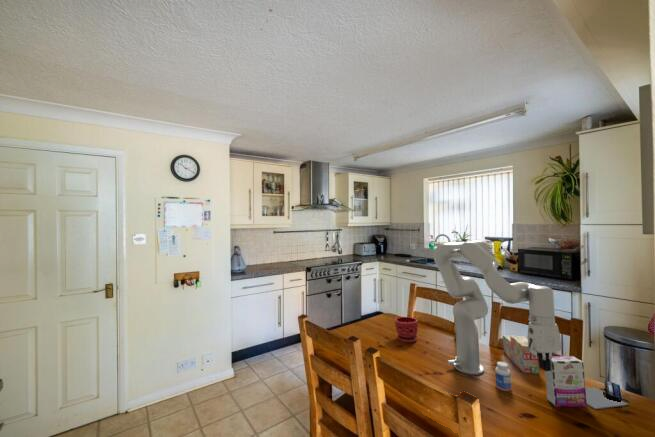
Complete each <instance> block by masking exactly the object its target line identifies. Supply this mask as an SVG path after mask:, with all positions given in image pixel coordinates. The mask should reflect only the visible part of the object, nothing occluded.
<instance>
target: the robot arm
mask: <svg viewBox="0 0 655 437" xmlns="http://www.w3.org/2000/svg"><path fill="white" fill-rule="evenodd" d="M461 259H466V260H467V261H468V262H469V263H471V265H472V266H474V268H476V269H477V270H478V271H479V272H480V273H481V274H482V275H483V279H484V281H485V283H486V285H487V287H488V288H489V289H490V290H491V292H493V293H494V295H495V296H497V297H498V298H499V299H501V300H502V301H504V302H505V303H507V304H511V305H512V304H519V303H525V302H528V308H529V316H528V321H529V322H528V327H527V339H528V347H529V348H530V353H531V354H533V355H537V357H538V368H539V369H541V370H543V371H544V372H545V371H551V366H550V360H551V359H552V356H554V354H557V353H558V352H560V351H562V340H561V334H560V330H559V326H558V324H557V323H556V314H555V300H554V291H553V289H552V288H551V287H550V286H546V285H540V284H539V285H536V284H532V283H529V282H525V281H524V282H523V281H519V282H513V283H510V282H509V281H508V280H506V279H505V278H504V277H503V276H502V275H501V274H500V273H499V272H498V268H499V265H500V263H499V260H498V259H496V258H495V257H494V256H493V255H492V254H491V247H490V246H489V244H488V243H487V242H486V241H483V240H469V241H460V242H459V241H458V242H444V243H441V244H438V245H437V246H436V248H435V249H434V253H433V260H434V264H435V265H436V267H437V269H438V271H439V273H440V274H441V278H442V280H443V283H444V285H445V287H446V290H447V292H448V294H449V296H450V297H452V299H461V298H465V299H464V300H459V301H457V302H456V303H455V304H454V305H453V308H452V314H453V319H454V324H455V338H456V340H455V342H456V356H454V359H448V360H447V362H446V363H447V364H448V365H449V366H450V365H453V367H454V369H456V370H457V371H459V372H461V373H463V374H467V375H472V376H473V375H481V374H483V373H484V368H485V367H483V365H482V364H481V362H480V347H479V346H480V345H479V341H480V340H479V330H478V326H477V325H476V323H475V322H476V320H480V319H483V318H485V317H486V316H487V315H488V312H489V307H488V305H487V302H486V299H485V298H484V297H485V296H484V295H483V293H482V291H481V289H480V286H479V284H478V282H476V281H475V279H473V278H472V277H469V276H462V275H461V273H460V270H459V269H458V267H457V266H456V264H455V263H453V261H452V260H461Z"/></svg>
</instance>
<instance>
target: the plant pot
mask: <svg viewBox="0 0 655 437" xmlns="http://www.w3.org/2000/svg"><path fill="white" fill-rule="evenodd" d="M394 321H395V322H394V324H395V325H394V326H395V330H396V333H397V339H398V340H399V341H400V342H403V343H414V342H415V341H417V340H418V336H417V334H418V331H419V330H418V327H419V324H418V323H419V322H418V319H417V318H415V317H410V316H400V317H399V316H398V317H397V318H395V319H394Z"/></svg>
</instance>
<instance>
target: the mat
mask: <svg viewBox="0 0 655 437" xmlns="http://www.w3.org/2000/svg"><path fill="white" fill-rule="evenodd" d="M585 391H586V403H587V406H589V407H590V408H592V409H594V410H595V409H596V410H603V409H609V408H610V407H611V408H618V407H626V406H629V404H628V403H627V402H625V401H623V400H621V402H617V401H613V400H609V399H607V398H606V397H604V395H603V392H604V391H603V390H601V389H599V388H597V387H589V388H588V387H587V388H585ZM611 408H610V409H611Z"/></svg>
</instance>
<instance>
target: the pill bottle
mask: <svg viewBox="0 0 655 437" xmlns="http://www.w3.org/2000/svg"><path fill="white" fill-rule="evenodd" d="M494 370H495V371H494V372H495V374H494V375H495V386H496V388H497V389H498V390H501V391H504V392H509V391H511V390H512V378H511V376H512V375H511V371H510V369H509V364H508V363H507V362H504V361H497V362H496V367H495V368H494Z"/></svg>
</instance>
